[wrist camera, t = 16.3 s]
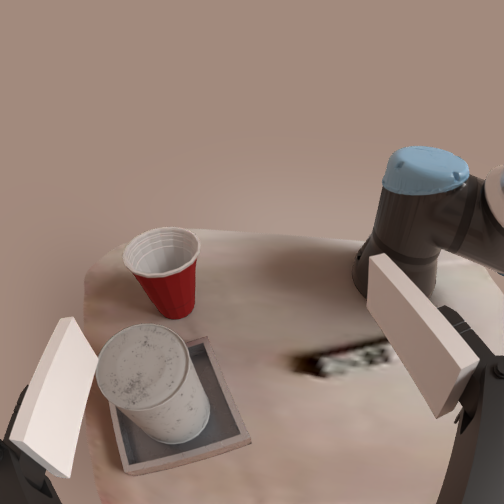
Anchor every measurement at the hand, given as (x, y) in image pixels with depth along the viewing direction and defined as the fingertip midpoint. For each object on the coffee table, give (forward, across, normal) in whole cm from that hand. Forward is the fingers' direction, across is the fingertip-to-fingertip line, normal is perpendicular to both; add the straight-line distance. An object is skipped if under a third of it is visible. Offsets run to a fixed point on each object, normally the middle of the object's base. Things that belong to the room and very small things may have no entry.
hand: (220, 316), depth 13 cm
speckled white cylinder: (+12, -11, -24) cm, 29 cm away
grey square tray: (+13, -11, -24) cm, 29 cm away
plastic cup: (+30, -10, -20) cm, 37 cm away
